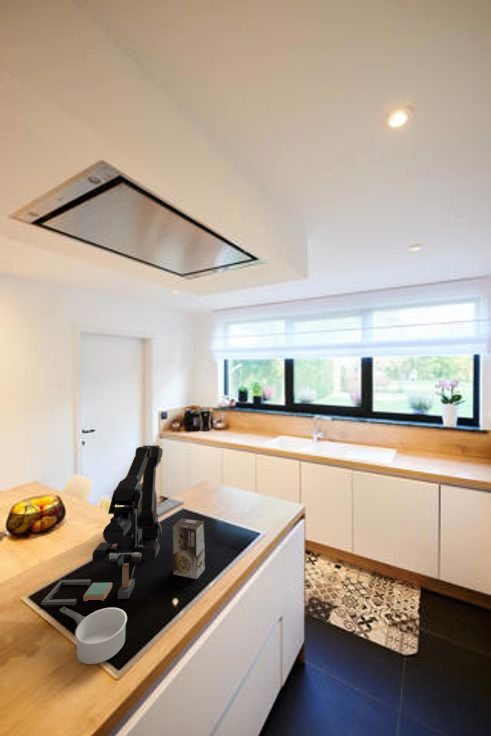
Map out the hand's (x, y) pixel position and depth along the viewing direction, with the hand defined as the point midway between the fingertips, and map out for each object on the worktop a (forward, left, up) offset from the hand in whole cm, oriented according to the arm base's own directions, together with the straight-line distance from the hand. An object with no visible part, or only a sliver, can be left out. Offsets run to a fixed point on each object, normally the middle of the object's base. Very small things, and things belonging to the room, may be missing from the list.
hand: (126, 579), depth 96 cm
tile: (+8, 0, -4) cm, 10 cm away
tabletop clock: (+6, -40, -4) cm, 41 cm away
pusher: (0, 0, -4) cm, 4 cm away
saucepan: (+3, +18, -4) cm, 19 cm away
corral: (+17, 0, -4) cm, 18 cm away
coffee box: (-18, -10, -4) cm, 21 cm away
